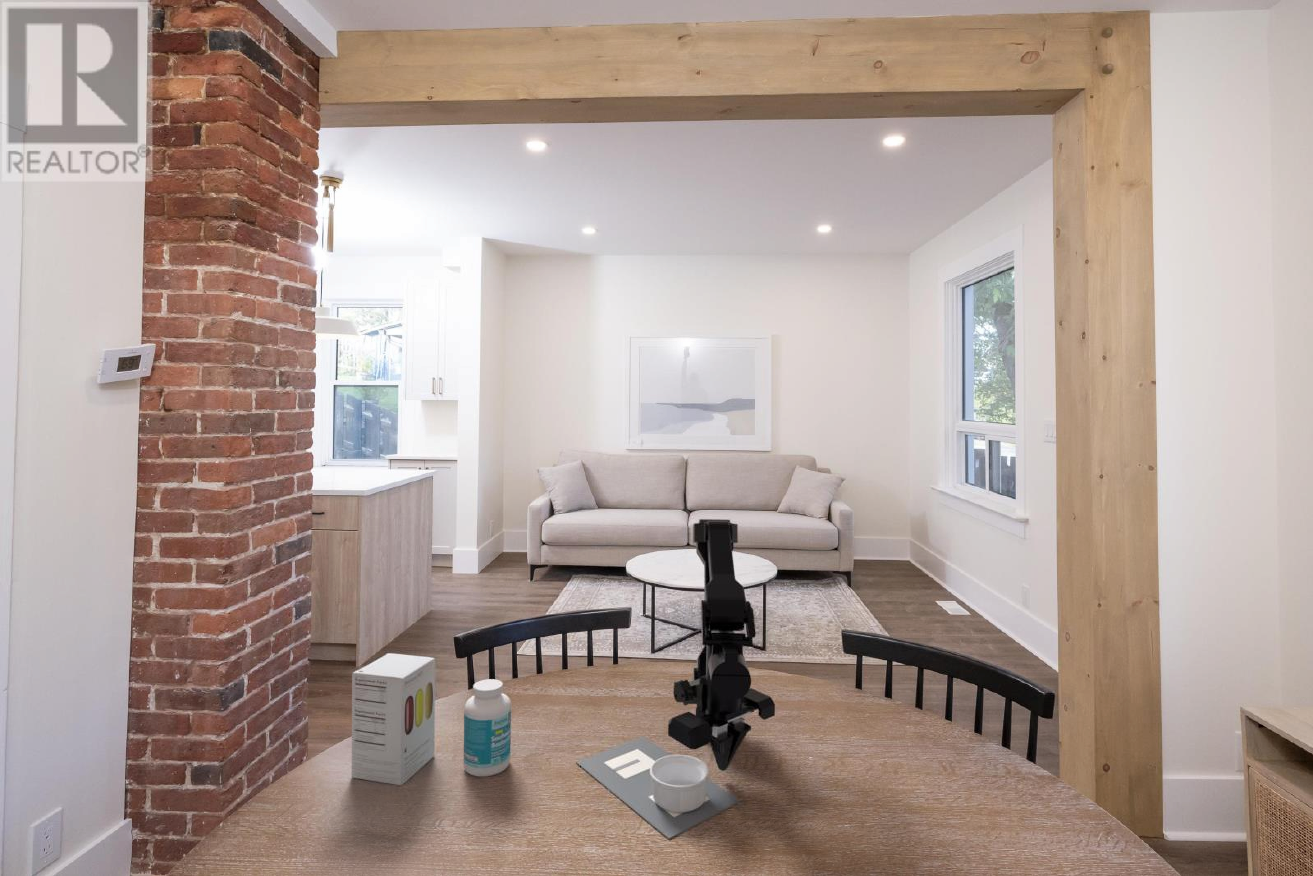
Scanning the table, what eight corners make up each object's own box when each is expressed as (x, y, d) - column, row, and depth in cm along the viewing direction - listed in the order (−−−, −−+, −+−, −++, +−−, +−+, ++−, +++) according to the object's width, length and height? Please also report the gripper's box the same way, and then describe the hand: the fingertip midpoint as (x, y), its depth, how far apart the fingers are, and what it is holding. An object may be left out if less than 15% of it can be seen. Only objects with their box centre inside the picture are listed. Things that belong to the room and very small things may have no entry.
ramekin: (640, 807, 92) (640, 778, 92) (662, 775, 100) (663, 749, 100) (697, 822, 89) (697, 792, 89) (716, 789, 97) (716, 761, 97)
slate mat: (643, 737, 113) (643, 735, 113) (740, 801, 94) (740, 799, 94) (576, 763, 104) (576, 761, 104) (668, 839, 86) (668, 837, 86)
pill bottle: (498, 782, 99) (498, 696, 98) (454, 776, 100) (455, 692, 100) (518, 757, 106) (518, 677, 106) (477, 751, 107) (477, 673, 107)
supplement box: (401, 787, 97) (401, 679, 96) (349, 779, 99) (349, 673, 98) (436, 755, 106) (436, 656, 106) (388, 748, 108) (388, 651, 108)
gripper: (729, 645, 112) (727, 732, 112) (646, 670, 100) (645, 767, 101) (777, 664, 103) (776, 758, 104) (693, 694, 92) (692, 800, 92)
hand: (722, 769), depth 100 cm, fingers closed
